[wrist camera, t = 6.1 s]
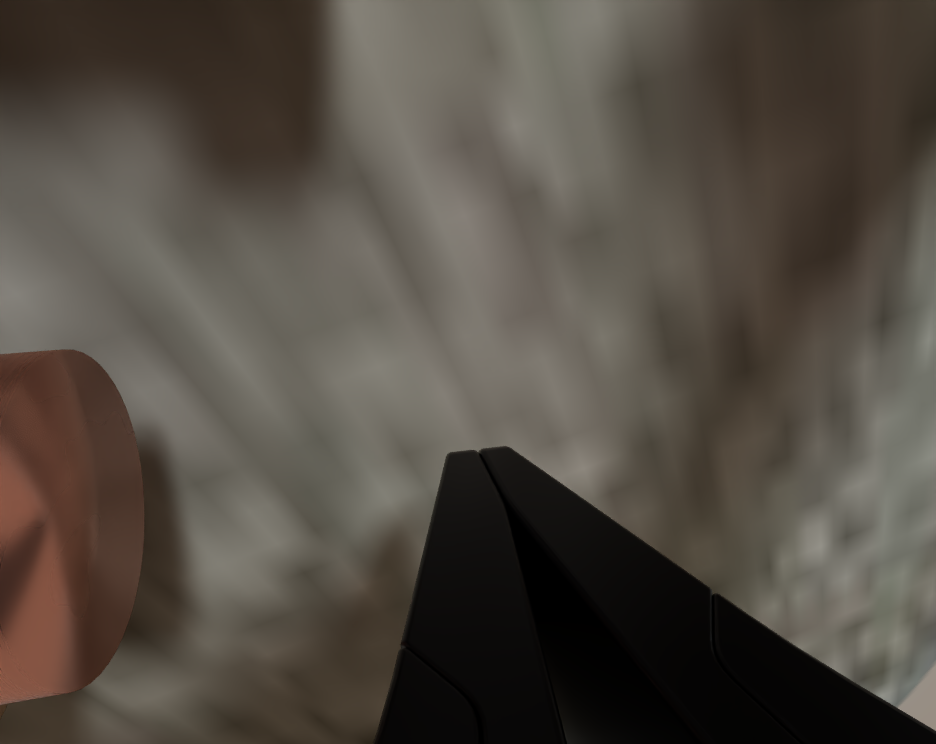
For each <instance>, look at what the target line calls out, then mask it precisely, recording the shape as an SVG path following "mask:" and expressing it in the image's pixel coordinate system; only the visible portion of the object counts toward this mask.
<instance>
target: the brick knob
mask: <svg viewBox="0 0 936 744" xmlns="http://www.w3.org/2000/svg"><path fill="white" fill-rule="evenodd" d="M144 522H145V517H144V491H143V480H142V471H141V464H140V458H139V452H138V447H137V443H136V438H135V434H134V431H133V427H132V424H131V421H130V418H129V415H128V412H127V409H126V407H125V404H124V402H123V400H122V397H121V395H120V393H119V392H118V390H117V388H116V386H115V384H114V383H113V381H112V380H111V378H110V377H109V375H108V374H107V372H106V371H105V370H104V369H103V368H102V367H101V366H100V364H98V363H97V362H96V361H95V360H94V359H92V358H91V357H89V356H88V355H86V354H84V353H82V352H79V351H75V350H51V351H37V352H24V353H11V354H0V705H2V704H8V703H14V702H19V701H25V700H31V699H36V698H42V697H48V696H54V695H59V694H65V693H70V692H74V691H77V690H80V689H82V688H84V687H85V686H87V685H88V684H90V683H91V682H92V681H94V680H95V679H96V678H97V677H98V676H99V675H100V674H101V673H102V671H103V670H104V669H105V667H106V666H107V665H108V664H109V662H110V660H111V659H112V657H113V655H114V654H115V652H116V650H117V648H118V646H119V644H120V642H121V640H122V638H123V635H124V633H125V630H126V628H127V625H128V622H129V619H130V616H131V613H132V609H133V606H134V602H135V598H136V593H137V589H138V584H139V578H140V572H141V564H142V556H143V545H144Z"/></svg>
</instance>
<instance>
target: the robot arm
mask: <svg viewBox="0 0 936 744" xmlns="http://www.w3.org/2000/svg"><path fill="white" fill-rule="evenodd" d="M373 744H936V731H935V730H933V729H932V728H930V727H928V726H926V725H925V724H923V723H921V722H920V721H918V720H917V719H915V718H913V717H911V716H910V715H908V714H906V713H905V712H903V711H901V710H900V709H898V708H896V707H895V706H893V705H891V704H890V703H888V702H886V701H885V700H883V699H881V698H880V697H878V696H876V695H875V694H873V693H871V692H870V691H868V690H866V689H865V688H863V687H861V686H860V685H858V684H856V683H854V682H853V681H851V680H850V679H848V678H846V677H845V676H843V675H841V674H840V673H838V672H837V671H835V670H833V669H832V668H830V667H829V666H827V665H825V664H824V663H822V662H820V661H819V660H817V659H816V658H814V657H812V656H811V655H809V654H808V653H806V652H804V651H803V650H801V649H799V648H798V647H796V646H795V645H793V644H792V643H790V642H789V641H787V640H786V639H784V638H783V637H781V636H780V635H778V634H777V633H775V632H774V631H772V630H771V629H769V628H768V627H766V626H765V625H763V624H762V623H760V622H759V621H757V620H756V619H754V618H753V617H751V616H750V615H748V614H747V613H746V612H744V611H743V610H741V609H740V608H738V607H737V606H736V605H734V604H733V603H731V602H730V601H728V600H727V599H726V598H724V597H723V596H721V595H720V594H718V593H715V594H713V596H712V590H711V588H710V587H708V586H707V585H705V584H704V583H702V582H701V581H700V580H698V579H697V578H695V577H694V576H692V575H691V574H690V573H688V572H687V571H685V570H684V569H682V568H681V567H680V566H678V565H677V564H675V563H674V562H672V561H671V560H670V559H668V558H667V557H665V556H664V555H662V554H661V553H660V552H658V551H657V550H655V549H654V548H653V547H651V546H650V545H648V544H647V543H645V542H644V541H643V540H641V539H640V538H638V537H637V536H635V535H634V534H633V533H631V532H630V531H628V530H627V529H625V528H624V527H623V526H621V525H620V524H618V523H617V522H615V521H614V520H613V519H611V518H610V517H608V516H607V515H605V514H604V513H603V512H601V511H600V510H598V509H597V508H596V507H594V506H593V505H591V504H590V503H588V502H587V501H586V500H584V499H583V498H581V497H580V496H578V495H577V494H576V493H574V492H573V491H571V490H570V489H568V488H567V487H566V486H564V485H563V484H561V483H560V482H558V481H557V480H556V479H554V478H553V477H551V476H550V475H548V474H547V473H546V472H544V471H543V470H541V469H540V468H539V467H537V466H536V465H534V464H533V463H531V462H530V461H529V460H527V459H526V458H524V457H523V456H521V455H520V454H519V453H517V452H516V451H514V450H513V449H511V448H510V447H507V446H501V447H493V448H484V449H481V450H480V451H479V452H477V451H475V450H466V451H458V452H450V453H449V454H447V456H446V459H445V464H444V468H443V472H442V476H441V480H440V484H439V488H438V493H437V497H436V501H435V505H434V509H433V513H432V517H431V522H430V526H429V530H428V534H427V538H426V542H425V546H424V550H423V555H422V559H421V563H420V567H419V571H418V575H417V579H416V584H415V588H414V592H413V596H412V600H411V604H410V608H409V612H408V617H407V621H406V625H405V629H404V633H403V637H402V641H401V649H400V650H399V652H398V656H397V660H396V664H395V668H394V672H393V676H392V681H391V684H390V688H389V691H388V695H387V698H386V702H385V705H384V709H383V713H382V716H381V720H380V723H379V727H378V730H377V733H376V736H375V739H374V742H373Z"/></svg>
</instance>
